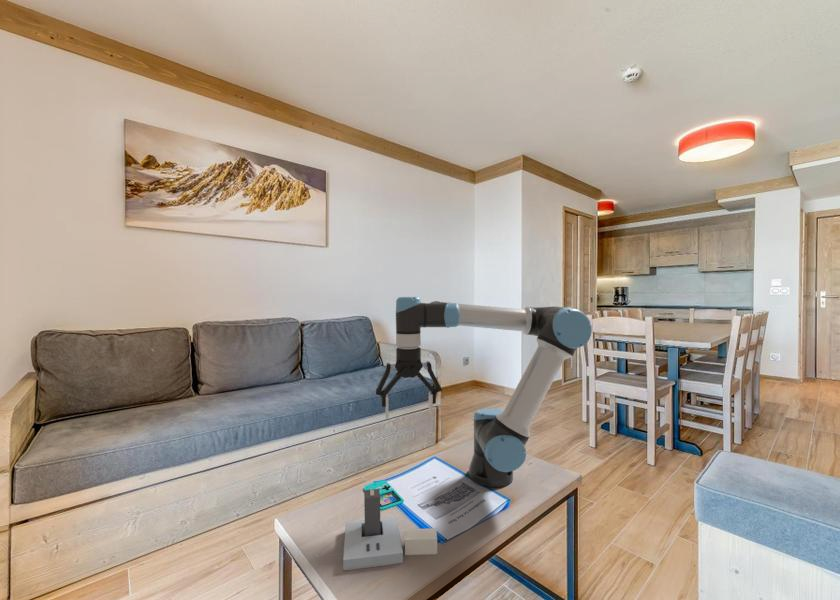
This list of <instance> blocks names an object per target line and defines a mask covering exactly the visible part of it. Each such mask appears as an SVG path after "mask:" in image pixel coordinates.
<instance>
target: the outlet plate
mask: <svg viewBox="0 0 840 600" xmlns="http://www.w3.org/2000/svg"><path fill="white" fill-rule="evenodd" d="M344 531H345V532H344V543H343V556H342V557H343V560H342V561H343V562H342V563H343V565H342V569H343V571H351V570H359V569H366V568H374V567H375V568H376V567H382V566H390V565H398V564H403V563H404V551H403V545H402V538H401V531H400V526H399V520H398V516H392V517H384V518H381V517H380V531H382V532H381V533H382V534H380V535H376V536H367V537H365V536H363V535H362V534H363V533H365V519H364V520H363V519H362V520H357V521H354V520H353V521H346V522H345V529H344Z"/></svg>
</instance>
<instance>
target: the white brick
mask: <svg viewBox="0 0 840 600" xmlns="http://www.w3.org/2000/svg"><path fill="white" fill-rule="evenodd" d="M415 555H416V556H418V555H419V556H422V555H438V535H437V528H435V527H434V528H430V527H429V528H405V529H404V556H415Z"/></svg>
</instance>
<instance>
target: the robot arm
mask: <svg viewBox="0 0 840 600" xmlns="http://www.w3.org/2000/svg"><path fill="white" fill-rule="evenodd" d="M458 326H461V327H472V328H482V329H494V330H503V331H504V330H506V331H515V332H521V333H522V334H523V335H529V336H533V337H534V336H535V337H537V338H536V343H537V348H536V350H535V352H534V354H533V355H532V357H531V359H530V360H529V363H528V365H527V367H526V369H524V370H525V371H524V372H523V374H522V376H521V377H520V379H519V382H518V384H517V386H516V388H515V390H514V392H513V393H512V395H511V396H510V399H509V400H508V403H507V404H506V406H505V409H504V410H503V409H497V408H484V409H483V408H482V409H478V410H476V411H475V412H474V413H473V419H472V420H473V455H472V458H471V461H470V464H469V467H468V474H469V478H470V479H471V481H473V482H474V483H475V484H477V483H478V485H480V486H484V487H488V488H502V487H507V486H508V485H510V484H511V483H512V482H513V480H514V471H516V470H518V469H520V468H521V467H522V465H523V464H524V462H525V461H526V457H527V450H526V449H527V448H526V444H527V443H528V441H529V439H530V438H531V437H530V436H531V433H530V430H529V429H530V428H529V427H530V425H531V424H532V421H533V420H534V419H535V418H534V417H535V416H536V414H537V412H538V410H539V408H540V406H541V405H542V402H543V401H544V400H545V398H546V395H547V393H548V391H549V389H550V388H551V386H552V384H553V383H554V380H555V378H556V377H557V375H558V373H559V370H560V368H561V367H562V365H563V363H564V362H565V361H566V360H567V359H571V358H573V356H574V354H575V352H576V350H577V349H578V348H579V349H580V348H582V347H583V346H585V345H586V344H587V343H588V342H589V341H590V339H591V337H592V330H593V329H592V324H591V320H590V319H589V317H588V315H586V314H585V313H584V312H583V311H582V310H579V309H577V308H573V307H564V306H563V307H561V306H542V307H541V306H540V307H536V306H535V307H534V306H531V307H530V306H525V307H524V308H523V309H522V308H521V309H520V308H512V307H500V306H490V305H489V306H487V305H477V304H469V303H468V304H467V303H466V304H465V303H457V302H444V301H436V300H434V301H431V302H428V303H426V302H425V303H424V302H422V300H421V298H420V297H419V296H400V297H398V298H397V299H396V301H395V332H396V333H395V334H396V336H395V337H396V338H395V340H396V342H395V343H396V344H395V345H396V349H395V350H396V352H395V353H396V354H395V357H396V358H395V359H396V362H395V363H390V362H386V364H385V371H384V372H383V375H382V376H381V379H380V381H379V383H378V385H377V387H376V389H375V394H376V396H380V397H381V407H382V408H385V412H384V414H385V419H386V420H387V419H389V415H390V414H389V392H390V391H391V390H392V389H393V388H394V386H395V385H396V384H397V382H398V381H400V379H401V378H403V379H407V378H412V379H413V378H415V377H416V376H417V378H418V379H419V380H420V381H421V382H422V383H423V384H424V385H425V386H426V387H427V389H428V390H429V392H428V414H429V416H430V417H431V416H434V415H433V414H434V412H433V410H434V408H433V407H434V405H436V403H437V394H438V393H440V392H442V390H443V388H442V386H441V385H440V383H439V381H438V378H437V376H436V375H435V374H434V371H433V369H432V363H431V362H430V361H429V360H426V361H425V362H422V358H421V357H422V356H421V354H422V353H421V352H422V351H421V347H420V346H421V345H422V344H421V343H422V342H421V338H422V337H421V333H422V332H421V328H446V329H449V328H456V327H458ZM422 368H424V370H427V373H428V374H429V377H430V379H431V380H432V383H433V384H434V387H433V386H432V385H431V383H430V382H429V381H428V380H427V378H425V377H424V375H423V374H422V373H421V372H420V371H421V370H422ZM394 369H395V370H396V371H397V372H396V373H395V374H394V376H393V377H392V378H391V380H390V381H389V382H388V383H387V384H386V381H387V379H388V377H390V373H391V372H392V371H393V370H394ZM385 384H386V386H385ZM384 386H385V387H384Z"/></svg>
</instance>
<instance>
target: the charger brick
mask: <svg viewBox="0 0 840 600" xmlns="http://www.w3.org/2000/svg"><path fill="white" fill-rule="evenodd" d="M363 491H364V492H363V494H364V495H363V496H364V501H363V503H364V506H363V507H364V520H365V532H364V537H367V536H376V535H381V530H380V519H381V510H380V504H381V499H380V491H379V489H371V490H364V489H363Z"/></svg>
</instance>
